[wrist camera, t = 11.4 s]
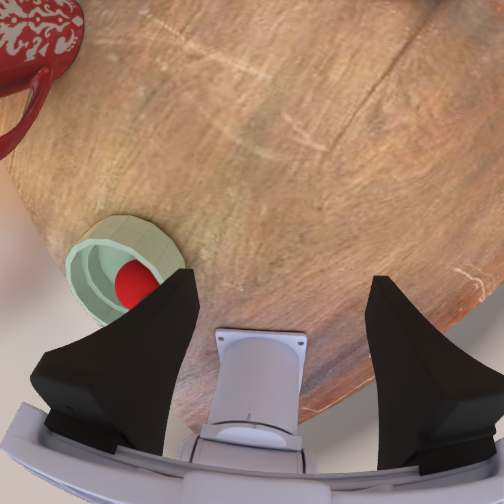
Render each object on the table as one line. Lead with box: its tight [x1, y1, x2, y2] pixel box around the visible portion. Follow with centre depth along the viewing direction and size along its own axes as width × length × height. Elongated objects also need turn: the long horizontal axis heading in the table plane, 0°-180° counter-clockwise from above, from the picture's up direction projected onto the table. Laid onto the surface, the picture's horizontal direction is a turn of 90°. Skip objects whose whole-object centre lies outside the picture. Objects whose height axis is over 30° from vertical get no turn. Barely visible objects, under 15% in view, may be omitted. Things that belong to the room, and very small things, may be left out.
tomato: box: [114, 259, 160, 310], centre depth 23 cm, size 4×4×4 cm
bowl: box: [65, 215, 186, 326], centre depth 23 cm, size 9×9×4 cm
